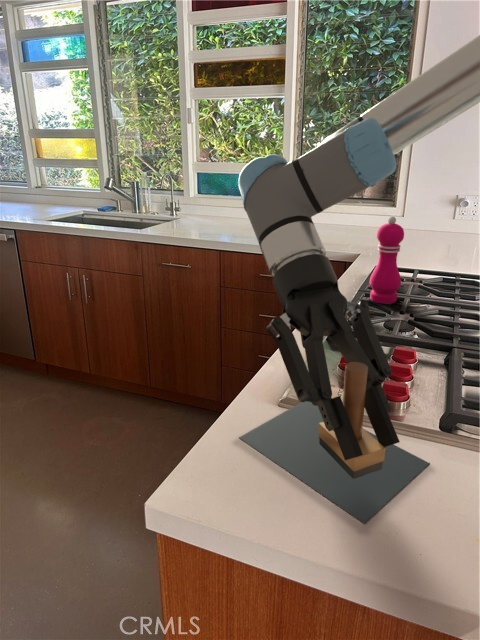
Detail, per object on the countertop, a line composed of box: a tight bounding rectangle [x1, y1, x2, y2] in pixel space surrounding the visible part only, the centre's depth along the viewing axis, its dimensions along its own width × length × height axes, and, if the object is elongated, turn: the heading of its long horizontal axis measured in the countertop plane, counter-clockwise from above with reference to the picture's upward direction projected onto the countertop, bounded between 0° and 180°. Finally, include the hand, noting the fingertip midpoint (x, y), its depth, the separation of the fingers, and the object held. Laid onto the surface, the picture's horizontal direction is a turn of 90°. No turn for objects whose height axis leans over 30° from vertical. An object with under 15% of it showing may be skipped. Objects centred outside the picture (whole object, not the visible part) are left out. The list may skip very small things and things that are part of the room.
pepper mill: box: [368, 216, 405, 305], centre depth 108 cm, size 7×7×20 cm
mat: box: [238, 401, 431, 525], centre depth 60 cm, size 20×14×1 cm
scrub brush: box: [318, 362, 386, 479], centre depth 53 cm, size 7×4×12 cm, turn 24°
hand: (372, 450), depth 50 cm, fingers closed on scrub brush, 4 cm apart
